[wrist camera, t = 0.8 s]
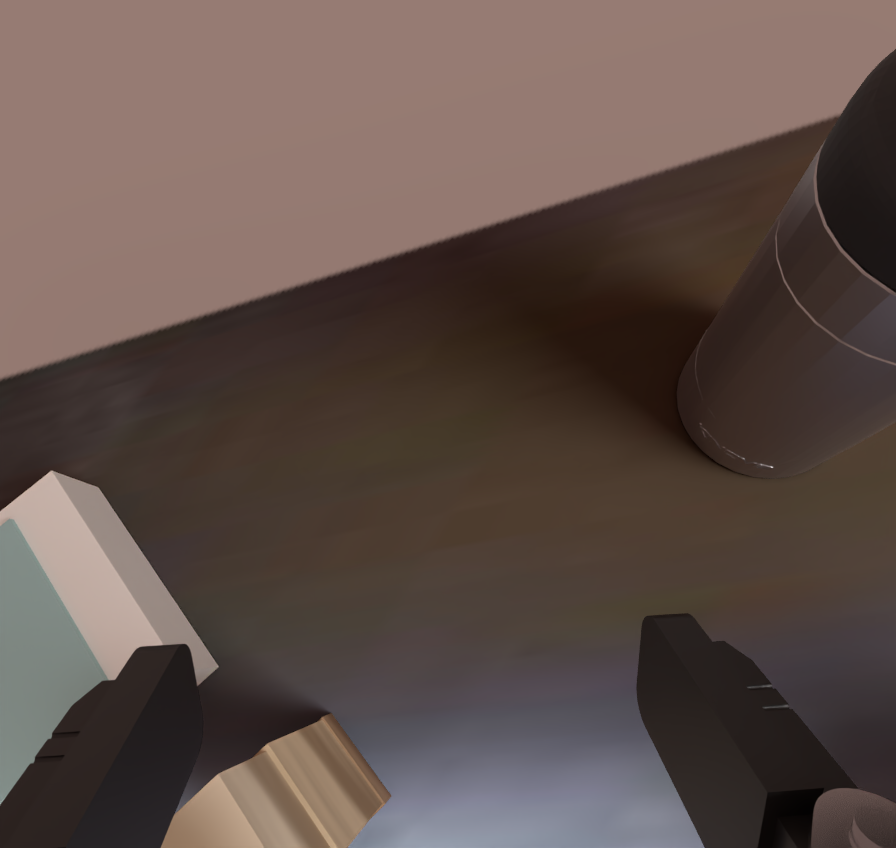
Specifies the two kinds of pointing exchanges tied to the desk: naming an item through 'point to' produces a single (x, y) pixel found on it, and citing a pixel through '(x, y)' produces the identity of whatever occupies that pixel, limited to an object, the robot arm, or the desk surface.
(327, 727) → the wooden block tower
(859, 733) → the desk surface
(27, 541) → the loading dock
